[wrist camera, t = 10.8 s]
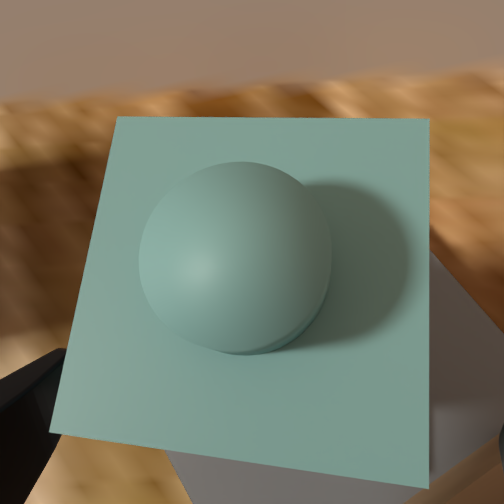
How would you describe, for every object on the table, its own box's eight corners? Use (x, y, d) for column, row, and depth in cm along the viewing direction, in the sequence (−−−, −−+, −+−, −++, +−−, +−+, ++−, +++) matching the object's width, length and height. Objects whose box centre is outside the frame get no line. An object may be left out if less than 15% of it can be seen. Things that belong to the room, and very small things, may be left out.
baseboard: (674, 545, 16) (732, 573, 14) (356, 784, 15) (361, 854, 13) (339, 159, 22) (340, 133, 20) (106, 320, 22) (80, 313, 19)
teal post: (355, 414, 18) (452, 513, 4) (232, 399, 18) (-2, 441, 5) (360, 291, 19) (447, 74, 6) (246, 282, 20) (87, 77, 6)
